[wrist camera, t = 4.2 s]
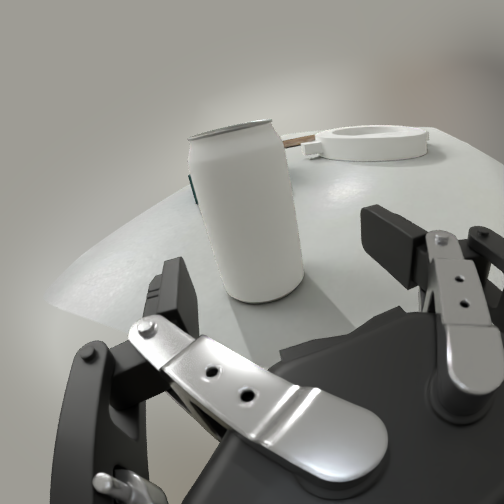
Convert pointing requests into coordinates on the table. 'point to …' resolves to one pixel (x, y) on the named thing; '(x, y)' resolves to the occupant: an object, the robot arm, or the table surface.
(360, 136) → the ring with crossbar
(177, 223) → the table surface
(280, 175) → the can
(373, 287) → the table surface
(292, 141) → the fish fossil
